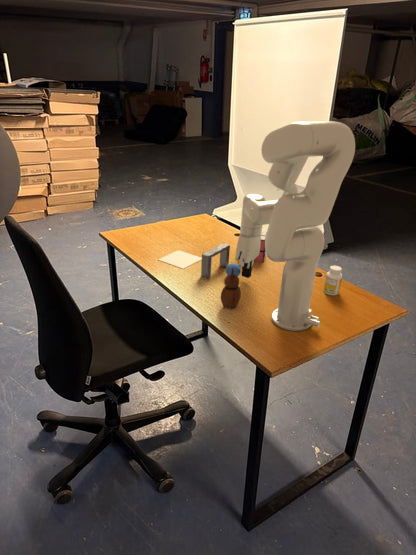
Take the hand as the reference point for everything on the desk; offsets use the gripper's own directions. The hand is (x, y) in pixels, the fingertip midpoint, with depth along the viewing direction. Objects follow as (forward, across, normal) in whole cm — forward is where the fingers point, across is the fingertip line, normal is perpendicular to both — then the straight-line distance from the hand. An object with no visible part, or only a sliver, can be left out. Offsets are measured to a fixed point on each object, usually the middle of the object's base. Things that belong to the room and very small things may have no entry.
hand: (246, 276), depth 158 cm
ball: (-1, 0, -6) cm, 6 cm away
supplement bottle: (+2, -13, +28) cm, 31 cm away
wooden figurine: (+2, +19, +6) cm, 20 cm away
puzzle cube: (+3, -21, -10) cm, 24 cm away
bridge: (+2, +1, -14) cm, 14 cm away
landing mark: (+3, +1, -30) cm, 31 cm away
